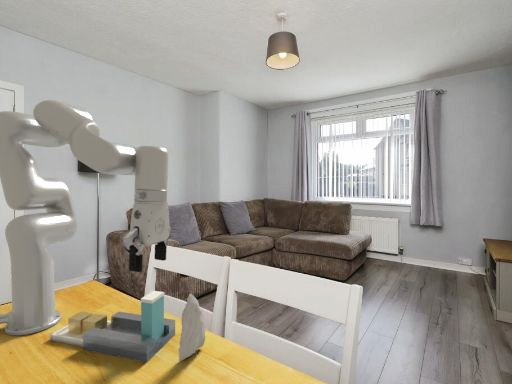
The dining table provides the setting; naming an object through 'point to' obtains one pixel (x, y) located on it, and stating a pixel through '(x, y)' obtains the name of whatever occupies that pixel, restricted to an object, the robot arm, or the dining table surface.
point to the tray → (68, 336)
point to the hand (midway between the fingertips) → (148, 265)
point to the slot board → (127, 353)
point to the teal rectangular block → (152, 315)
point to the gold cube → (95, 322)
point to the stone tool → (191, 328)
